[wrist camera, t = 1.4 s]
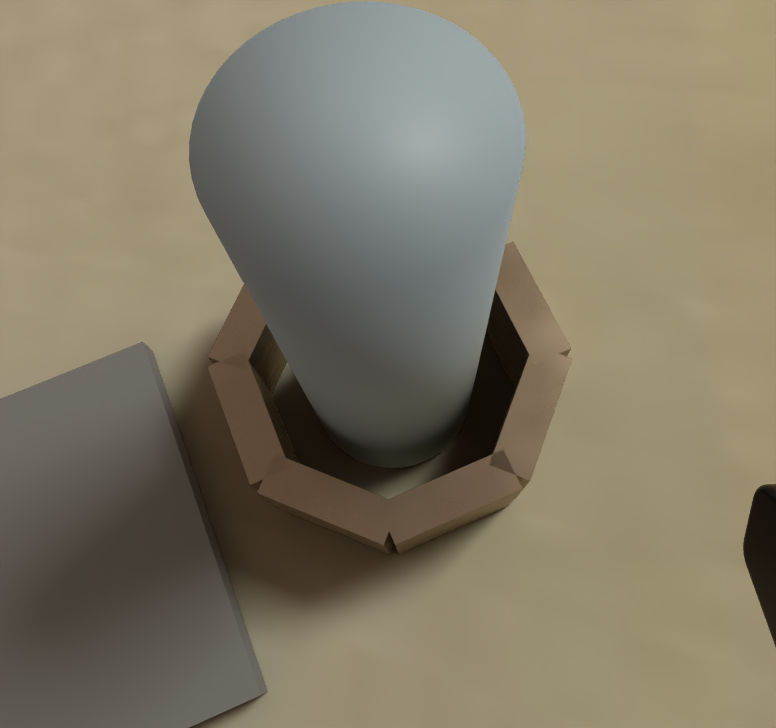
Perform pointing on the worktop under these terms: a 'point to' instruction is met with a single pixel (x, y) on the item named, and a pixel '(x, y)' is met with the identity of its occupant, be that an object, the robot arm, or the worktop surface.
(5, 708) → the gray base plate
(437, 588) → the worktop surface
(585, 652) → the worktop surface
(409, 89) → the slate peg
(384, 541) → the bronze collar
